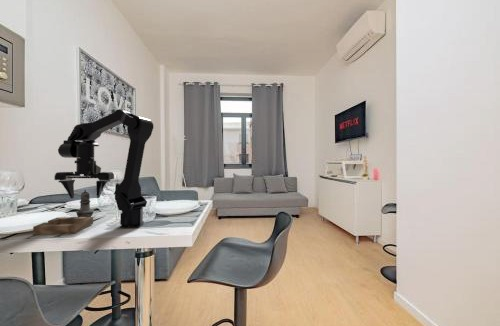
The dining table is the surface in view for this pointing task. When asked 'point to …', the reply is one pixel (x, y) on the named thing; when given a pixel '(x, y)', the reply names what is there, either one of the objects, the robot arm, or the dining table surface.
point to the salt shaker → (85, 206)
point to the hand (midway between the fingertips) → (85, 198)
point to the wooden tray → (63, 225)
